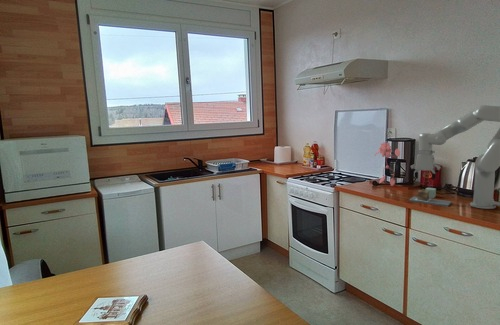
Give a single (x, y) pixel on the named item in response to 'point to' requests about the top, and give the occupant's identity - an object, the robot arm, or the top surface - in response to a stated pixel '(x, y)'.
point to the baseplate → (432, 201)
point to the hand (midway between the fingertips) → (424, 179)
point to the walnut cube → (423, 195)
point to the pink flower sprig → (386, 152)
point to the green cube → (431, 192)
